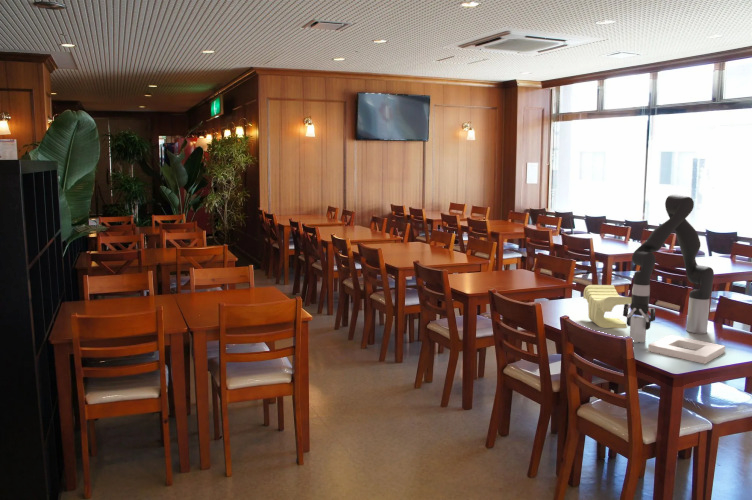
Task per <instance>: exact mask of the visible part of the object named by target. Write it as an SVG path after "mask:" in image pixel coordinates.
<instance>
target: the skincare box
mask: <svg viewBox="0 0 752 500" xmlns="http://www.w3.org/2000/svg"><path fill="white" fill-rule="evenodd" d="M646 322H647V321H646V319H645V318H644V317H643V316H640V315H633V316H631V322H630V326H629V338H630V337H632V338H633V340H634V344H637V343H638V342H640V343H641V344H642V343H646V339H647V338H646V335H647V330H646V329H645V328H646Z"/></svg>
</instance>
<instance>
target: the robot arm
mask: <svg viewBox="0 0 752 500" xmlns="http://www.w3.org/2000/svg"><path fill="white" fill-rule="evenodd" d="M664 205H665V210H666V214H667V216H668V217H669V219H667V220H666V221H665V222H663V223H662V224H661V223H660V225H659V226H657V227H655V228H654V229H653V230H652V232H651V234H650V235H649V237H648V238H647V239H646V241H645V242H643V243H642V244H640V246H638V247H637V249H635V251H633V253H632V255H631V261H632V263H633V264H634V265H636V266H640V267H641V269H640V270H638V271H635V272H634V274H633V285H632V289H631V297H632V301H631V304H628V303H627V304H625V305H623V312H622V316H623V317H625V318H626V325H627V327H630V322H631V316H643V317H644V318H645V319H646V321H647V322H646V328H645V329H646V331H647V330H650V329H651V323H652V322H655V321H656V308H655V307H649V305H650V294H651V293H650V292H651V285H650V283H651V276H652V273H653V270H654V268H655V265H656V256H655V254H654V253H655V252H658V251H660V250H661V248H662V247H663V245H665V242H666V241H667V239H668V238H669V237H670V235H671V234H672V233H673V232H675V235H676V239H677V243H678V246H679V248H680V251H681V254H682V255H681V256H682V258H683V262H684V267H685V273H686V277H687V280H688V282H690V283H691V284H696V285H700V286H699V288H698V289H692V290H690V291H689V296H688V297H689V298H688V306H687V307H688V309H687V319H686V331H687V332H688V333H693V334H707V332H708V323H709V313H710V312H709V311H710V299H711V295H712V291H713V286H714V285H713V283H714V278H715V277H714V276H715V274H714V273H715V272H714V270H713V268H712V267H710V266H705V265H699V264H698V263H697V260H696V257H697V254H698V253H699V251H700V249H701V240H700V238H699V234H698V232H697V230H696V229H695V227H694V226H693V225H692V224H691V223H690V222H689V221H688V219H687V218H688V217H689V215H690V214H691V213H692V211H693V209H694V208H695V201H694V200H693V198H692V197H690V196H687V195H681V194H669V195H668V196H667V197H666V198H665V203H664ZM629 309H631V311H630V312H629ZM648 312H649V313H650V314H649V313H648Z"/></svg>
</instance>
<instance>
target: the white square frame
mask: <svg viewBox="0 0 752 500" xmlns="http://www.w3.org/2000/svg"><path fill="white" fill-rule="evenodd" d="M725 349H726V345H723V344H717V343H711V342H707V341H702V340H698V339H692V338H687V337H683V336H679V335H672V334H669V335H667V336H665V337H662V338H661V339H659V340H656V341H653V342H651V343H649V344H648V350H647V351H648V352H650V351H651V352H652V353H655V354H659V353H660V355H664V356H668V357H674V358H677V359H678V358H679V359H683V360H687V361H692V362H694V363H695V362H696V363H699V364H707V363H709V362H710V361H712V360H714V359H716V358H717V357H719V356H721V355H724V353H726V350H725Z"/></svg>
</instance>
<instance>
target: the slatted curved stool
mask: <svg viewBox="0 0 752 500" xmlns="http://www.w3.org/2000/svg"><path fill="white" fill-rule="evenodd" d="M583 299H584V300H586V301H587V304H588V305H587V306H588V319H589V320H590V321H591V322H593V323H594V324H596V325H597V327H599V328H608V329H609V328H610V329H612V328H616V329H627V328H628V325H627V322H624V321H623V320H622V319H620V318H618V317H617V318H616V317H615V318H614V317H605V313H606V312H607V313H608V312H610V313H611V312H613V311H612V310H614V307H616V306H618V305H623V306H624V305H625V304H627V303H628V304H630V305H631V301H632V296H620V295H619V293H618V292H617V289H616V287H615V285H614V284H589V285H586V287H584V290H583Z"/></svg>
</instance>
